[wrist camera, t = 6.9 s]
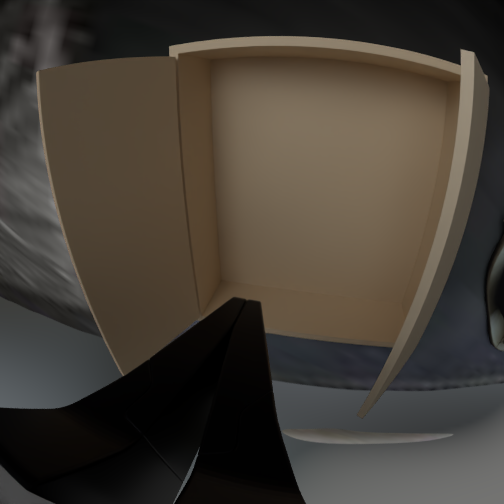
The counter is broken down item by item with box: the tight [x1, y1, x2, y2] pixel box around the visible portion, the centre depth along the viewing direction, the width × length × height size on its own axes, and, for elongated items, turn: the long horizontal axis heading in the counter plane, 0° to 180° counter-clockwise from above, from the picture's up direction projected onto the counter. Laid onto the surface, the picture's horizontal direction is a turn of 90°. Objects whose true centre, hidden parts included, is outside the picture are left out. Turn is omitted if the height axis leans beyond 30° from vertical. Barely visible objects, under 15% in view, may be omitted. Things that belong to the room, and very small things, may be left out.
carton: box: [169, 36, 487, 347], centre depth 17 cm, size 16×18×5 cm
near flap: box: [357, 50, 489, 418], centre depth 11 cm, size 7×17×1 cm
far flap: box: [36, 57, 200, 376], centre depth 14 cm, size 7×17×1 cm
